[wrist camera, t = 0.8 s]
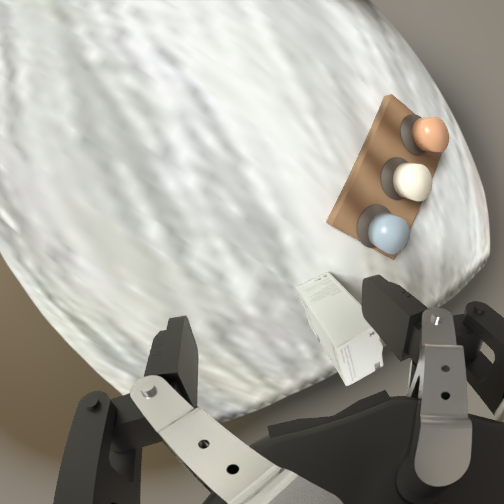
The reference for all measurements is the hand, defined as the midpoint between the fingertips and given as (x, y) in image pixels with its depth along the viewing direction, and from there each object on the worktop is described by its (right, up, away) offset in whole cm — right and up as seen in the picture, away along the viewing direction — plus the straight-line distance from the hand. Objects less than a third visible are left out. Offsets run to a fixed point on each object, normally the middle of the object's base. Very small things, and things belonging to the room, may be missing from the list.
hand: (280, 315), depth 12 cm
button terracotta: (+24, +20, +19) cm, 36 cm away
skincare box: (+9, -5, +30) cm, 32 cm away
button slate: (+17, +6, +23) cm, 29 cm away
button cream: (+20, +13, +21) cm, 32 cm away
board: (+20, +14, +25) cm, 35 cm away
